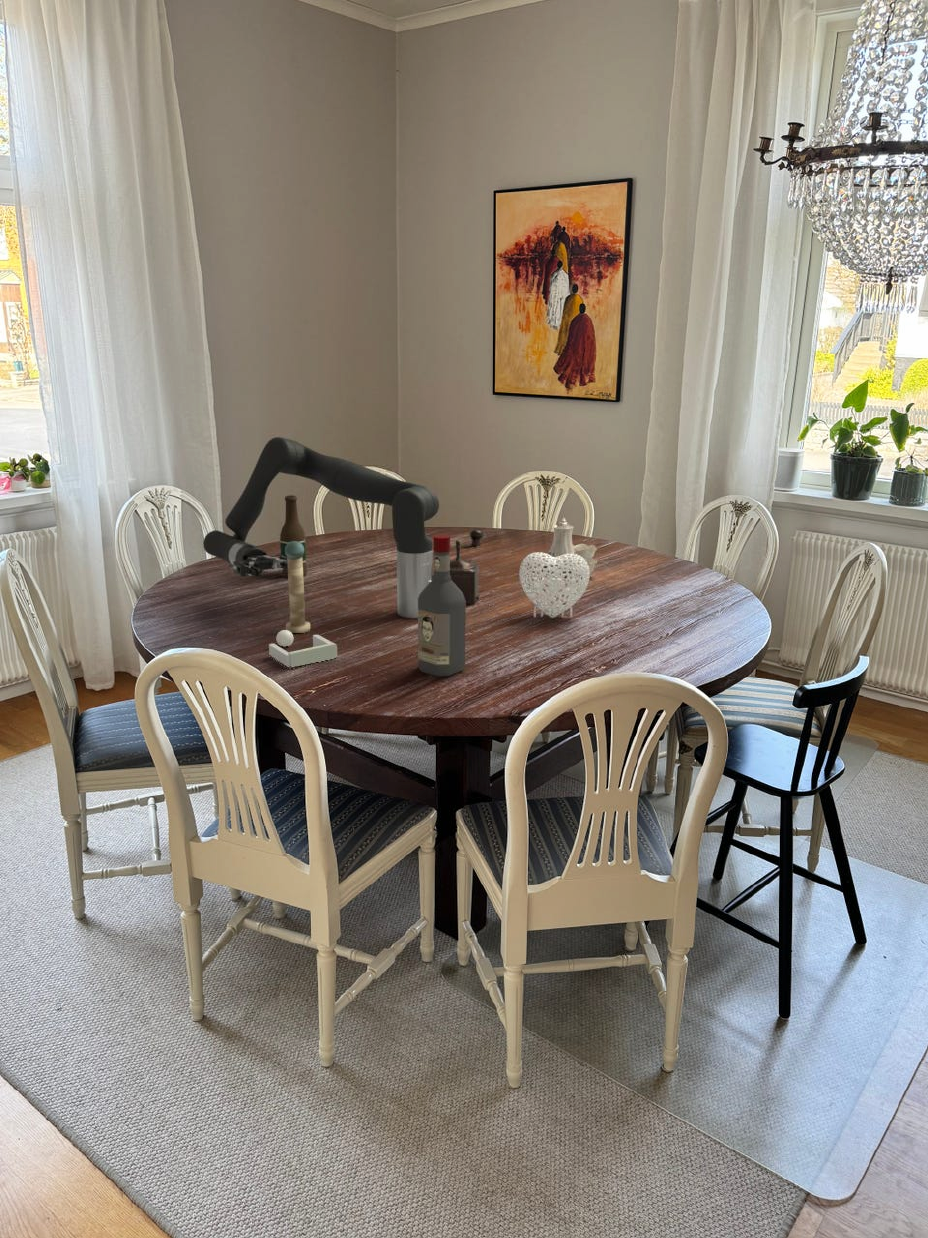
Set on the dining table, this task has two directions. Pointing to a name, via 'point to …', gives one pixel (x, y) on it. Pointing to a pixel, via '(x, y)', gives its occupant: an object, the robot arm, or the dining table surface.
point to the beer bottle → (292, 530)
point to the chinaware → (570, 546)
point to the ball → (284, 638)
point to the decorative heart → (554, 581)
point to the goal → (305, 653)
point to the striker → (296, 588)
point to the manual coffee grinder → (466, 570)
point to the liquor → (441, 618)
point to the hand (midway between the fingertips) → (275, 571)
